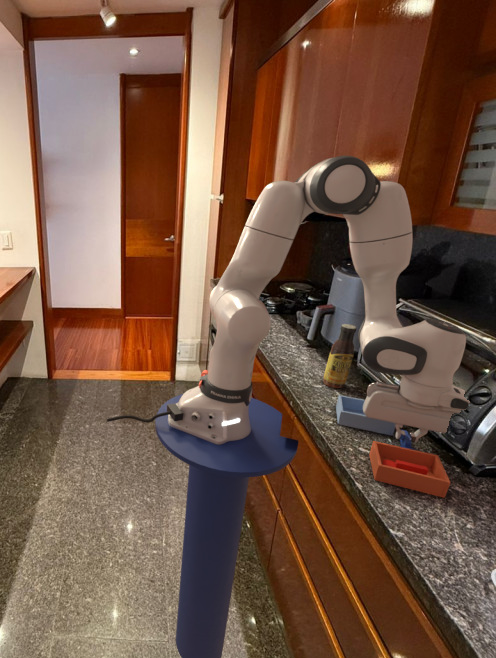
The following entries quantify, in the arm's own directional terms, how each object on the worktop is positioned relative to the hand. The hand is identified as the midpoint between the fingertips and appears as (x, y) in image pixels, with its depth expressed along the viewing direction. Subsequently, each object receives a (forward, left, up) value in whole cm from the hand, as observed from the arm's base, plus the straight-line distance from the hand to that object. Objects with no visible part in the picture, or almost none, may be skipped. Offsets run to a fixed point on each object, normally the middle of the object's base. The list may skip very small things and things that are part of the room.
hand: (405, 439), depth 93 cm
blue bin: (-8, +9, -2) cm, 12 cm away
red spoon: (-2, -11, -2) cm, 11 cm away
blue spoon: (0, -1, -2) cm, 2 cm away
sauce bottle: (-14, +28, -2) cm, 31 cm away
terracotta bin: (-2, -11, -2) cm, 12 cm away
